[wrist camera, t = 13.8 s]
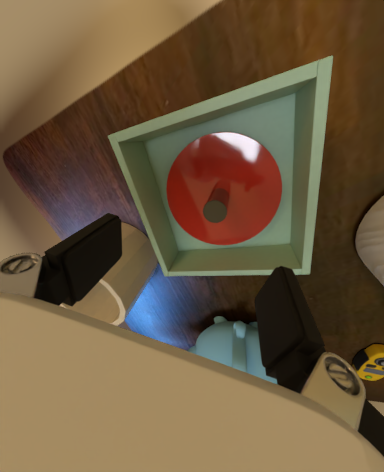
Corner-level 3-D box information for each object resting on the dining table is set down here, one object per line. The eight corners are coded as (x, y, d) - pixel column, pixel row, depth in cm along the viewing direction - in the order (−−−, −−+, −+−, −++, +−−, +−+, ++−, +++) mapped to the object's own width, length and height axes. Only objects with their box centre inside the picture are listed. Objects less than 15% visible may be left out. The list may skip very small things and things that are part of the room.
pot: (86, 247, 33) (31, 287, 24) (112, 206, 27) (50, 241, 18) (136, 286, 36) (102, 335, 27) (171, 257, 29) (142, 309, 20)
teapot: (303, 346, 33) (339, 464, 21) (224, 361, 42) (218, 446, 31) (252, 294, 29) (260, 401, 17) (179, 323, 39) (153, 404, 27)
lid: (150, 193, 23) (128, 208, 19) (223, 97, 16) (217, 82, 12) (218, 256, 26) (213, 283, 21) (306, 197, 19) (328, 217, 14)
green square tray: (176, 253, 28) (164, 276, 24) (137, 135, 21) (107, 135, 16) (295, 246, 23) (310, 274, 18) (304, 80, 15) (333, 54, 10)
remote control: (413, 360, 25) (366, 398, 33) (403, 347, 27) (361, 386, 34) (374, 353, 27) (337, 391, 34) (366, 340, 28) (333, 380, 36)
